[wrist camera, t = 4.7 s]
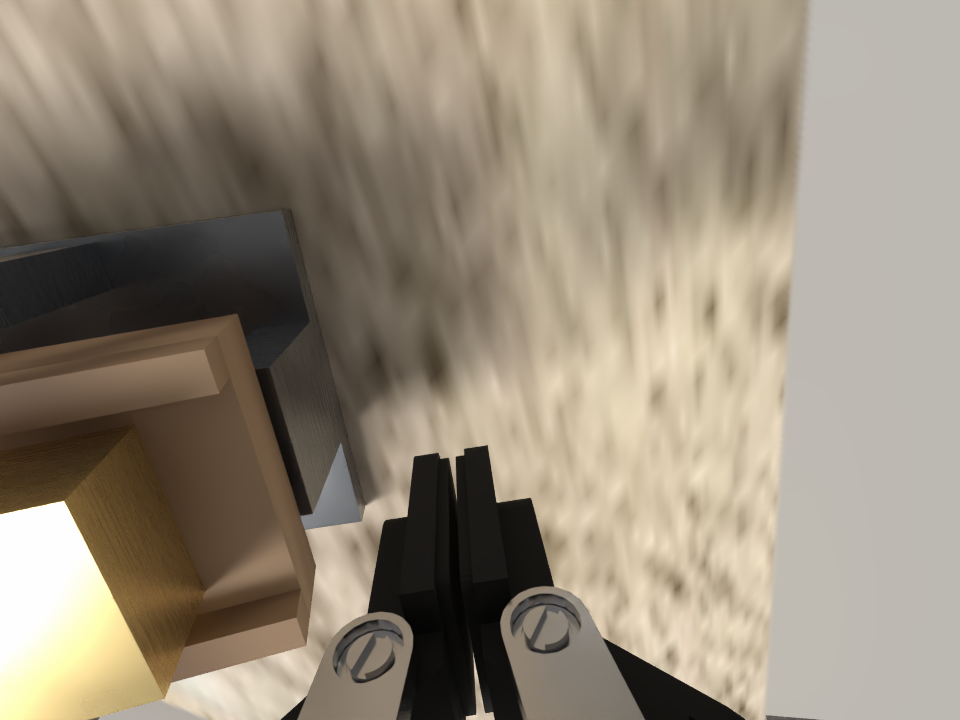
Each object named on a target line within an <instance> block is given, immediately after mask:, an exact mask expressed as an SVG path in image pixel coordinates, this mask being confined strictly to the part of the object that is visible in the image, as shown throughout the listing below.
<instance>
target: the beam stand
mask: <svg viewBox="0 0 960 720" xmlns="http://www.w3.org/2000/svg"><path fill="white" fill-rule="evenodd" d="M233 314H238V317H239V320H240V324H241V327H242V330H243V333H244V336H245V340H246V343H247V346H248V349H249V353H250V356H251V359H252V362H253V365H254V369H255V372H256V375H257V378H258V381H259V385H260V388H261V391H262V394H263V398H264V401H265V404H266V407H267V410H268V414H269V417H270V420H271V423H272V426H273V430H274V433H275V436H276V439H277V443H278V446H279V449H280V452H281V455H282V459H283V462H284V465H285V468H286V472H287V475H288V478H289V481H290V484H291V488H292V491H293V494H294V497H295V500H296V504H297V507H298V510H299V513H300V517H301V520H302V523H303V526H304V529H312V528H319V527H326V526H333V525H340V524H347V523H354V522H361V521H362V518H363V513H364V509H365V504H364V500H363V496H362V492H361V488H360V484H359V480H358V476H357V472H356V469H355V465H354V461H353V457H352V453H351V449H350V445H349V441H348V437H347V433H346V429H345V425H344V421H343V417H342V413H341V409H340V405H339V401H338V397H337V393H336V389H335V385H334V381H333V377H332V373H331V369H330V365H329V361H328V358H327V354H326V350H325V346H324V342H323V338H322V334H321V330H320V326H319V322H318V318H317V314H316V310H315V306H314V302H313V298H312V294H311V290H310V286H309V282H308V278H307V274H306V270H305V266H304V262H303V258H302V254H301V250H300V247H299V243H298V239H297V235H296V231H295V227H294V223H293V219H292V215H291V211H290V208H289V209H282V210H274V211H267V212H260V213H252V214H245V215H238V216H230V217H223V218H216V219H208V220H201V221H194V222H186V223H179V224H172V225H164V226H157V227H149V228H142V229H135V230H127V231H120V232H113V233H105V234H98V235H91V236H83V237H76V238H69V239H61V240H54V241H47V242H39V243H32V244H25V245H17V246H10V247H3V248H0V354H4V353H10V352H16V351H22V350H28V349H33V348H39V347H45V346H51V345H57V344H63V343H69V342H74V341H80V340H86V339H92V338H98V337H104V336H110V335H116V334H121V333H127V332H133V331H139V330H145V329H151V328H157V327H163V326H168V325H174V324H180V323H186V322H192V321H198V320H204V319H210V318H215V317H221V316H227V315H233ZM98 719H99V717H97V718H93V719H89V720H98Z"/></svg>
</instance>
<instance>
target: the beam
mask: <svg viewBox="0 0 960 720" xmlns="http://www.w3.org/2000/svg"><path fill="white" fill-rule="evenodd" d="M134 424H136V427H137V429H138V432H139V434H140V436H141V439H142V441H143V443H144V446H145V448H146V451H147V453H148V455H149V458H150V460H151V462H152V465H153V467H154V470H155V472H156V474H157V477H158V479H159V481H160V484H161V486H162V489H163V491H164V493H165V496H166V498H167V500H168V503H169V505H170V508H171V510H172V512H173V515H174V517H175V519H176V522H177V524H178V527H179V529H180V531H181V534H182V536H183V538H184V541H185V543H186V546H187V548H188V550H189V553H190V555H191V557H192V560H193V562H194V565H195V567H196V569H197V572H198V574H199V576H200V579H201V581H202V584H203V586H204V588H205V591H206V592H205V594H204V597H203V599H202V602H201V605H200V607H199V610H198V612H197V615H196V618H195V620H194V623H193V626H192V628H191V631H190V633H189V636H188V639H187V641H186V644H185V647H184V649H183V652H182V654H181V657H180V660H179V662H178V665H177V668H176V670H175V673H174V675H173V678H172V681H171V683H172V682H175V681H179V680H183V679H186V678H190V677H194V676H197V675H201V674H205V673H208V672H212V671H215V670H219V669H223V668H226V667H230V666H234V665H237V664H241V663H245V662H248V661H252V660H256V659H259V658H263V657H266V656H270V655H274V654H277V653H281V652H285V651H288V650H292V649H296V648H299V647H303V646H306V643H307V634H308V626H309V618H310V610H311V601H312V593H313V585H314V577H315V569H316V565H315V562H314V558H313V555H312V552H311V549H310V546H309V542H308V539H307V536H306V533H305V529H304V526H303V523H302V520H301V517H300V513H299V510H298V507H297V504H296V500H295V497H294V494H293V491H292V488H291V484H290V481H289V478H288V475H287V472H286V468H285V465H284V462H283V459H282V455H281V452H280V449H279V446H278V443H277V439H276V436H275V433H274V430H273V426H272V423H271V420H270V417H269V414H268V410H267V407H266V404H265V401H264V398H263V394H262V391H261V388H260V385H259V381H258V378H257V375H256V372H255V369H254V365H253V362H252V359H251V356H250V353H249V349H248V346H247V343H246V340H245V336H244V333H243V330H242V327H241V324H240V320H239V317H238V314H233V315H227V316H221V317H215V318H210V319H204V320H198V321H192V322H186V323H180V324H174V325H168V326H163V327H157V328H151V329H145V330H139V331H133V332H127V333H121V334H116V335H110V336H104V337H98V338H92V339H86V340H80V341H74V342H69V343H63V344H57V345H51V346H45V347H39V348H33V349H28V350H22V351H16V352H10V353H4V354H0V451H2V450H7V449H12V448H18V447H23V446H28V445H33V444H38V443H43V442H48V441H53V440H58V439H63V438H68V437H73V436H78V435H83V434H89V433H94V432H99V431H104V430H109V429H114V428H119V427H124V426H129V425H134Z"/></svg>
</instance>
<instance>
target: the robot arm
mask: <svg viewBox="0 0 960 720" xmlns="http://www.w3.org/2000/svg"><path fill="white" fill-rule="evenodd" d="M456 481H457V499H456V494H455V488H454V483H453V477H452V472H451V467H450V461H449V458H444V459H440V456H439V453H434V454H428V455H421V456H415V457H414V462H413V471H412V480H411V489H410V498H409V507H408V516H407V517H403V518H397V519H390V520H386V521H385V522H384V524H383V528H382V534H381V540H380V545H379V551H378V557H377V562H376V568H375V574H374V579H373V585H372V591H371V596H370V602H369V608H368V613H367V614H366V615H364V616H361V617H359V618H356V619H354V620H353V621H351V622H350V623H348V624H347V625H345V626H344V627H343V628H342V629H341V630H340V631H339V632H338V633H337V634H336V635H335V636H334V637H333V638H332V640H331V642H330V643H329V645H328V647H327V649H326V650H325V653H324V655H323V658H322V660H321V663H320V665H319V668H318V670H317V673H316V675H315V677H314V680H313V682H312V685H311V687H310V690H309V692H308V695H307V696H306V697H305V698H304V699H303V700H302V701H301V702H300V703H299V704H297V705H296V706H295V707H294V708H293V709H292V710H291V711H290V712H289V713H287V714H286V715H285V716H284V717H283V718H282V719H281V720H466V716H471V715H476V696H475V678H474V661H473V653H474V658H475V664H476V669H477V674H478V679H479V684H480V689H481V694H482V699H483V705H484V710H485V713H490V712H493V713H494V718H495V720H745V719H744V718H743V717H741V716H740V715H738V714H737V713H736V712H734V711H733V710H731V709H730V708H729V707H727V706H725V705H723V704H721V703H720V702H718V701H716V700H714V699H712V698H711V697H709V696H707V695H705V694H703V693H702V692H700V691H698V690H696V689H694V688H693V687H691V686H689V685H687V684H685V683H684V682H682V681H680V680H678V679H676V678H674V677H673V676H671V675H669V674H667V673H665V672H664V671H662V670H660V669H658V668H656V667H655V666H653V665H651V664H649V663H647V662H646V661H644V660H642V659H640V658H638V657H637V656H635V655H633V654H631V653H629V652H628V651H626V650H624V649H622V648H620V647H619V646H617V645H615V644H613V643H611V642H610V641H608V640H606V639H604V638H602V636H601V634H600V632H599V631H598V629H597V627H596V625H595V623H594V621H593V619H592V617H591V615H590V613H589V611H588V609H587V608H586V607H585V605H584V604H583V603H582V601H581V600H580V599H579V598H577V597H576V596H575V595H573V594H572V593H570V592H568V591H566V590H563V589H560V588H557V587H554V584H553V580H552V576H551V572H550V568H549V565H548V561H547V557H546V553H545V549H544V545H543V542H542V538H541V534H540V530H539V526H538V523H537V519H536V515H535V511H534V507H533V504H532V500H531V498H526V499H519V500H513V501H506V502H500V503H496V497H495V490H494V484H493V477H492V471H491V464H490V458H489V451H488V445H486V446H480V447H473V448H467V449H464V455H463V456H457V457H456ZM765 720H816V719H803V718H791V717H780V716H779V717H778V716H767V715H766V719H765Z"/></svg>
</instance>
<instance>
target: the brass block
mask: <svg viewBox="0 0 960 720" xmlns="http://www.w3.org/2000/svg"><path fill="white" fill-rule="evenodd" d="M205 592H206V591H205V588H204V586H203V584H202V581H201V579H200V576H199V574H198V572H197V569H196V567H195V565H194V562H193V560H192V557H191V555H190V553H189V550H188V548H187V546H186V543H185V541H184V538H183V536H182V534H181V531H180V529H179V527H178V524H177V522H176V519H175V517H174V515H173V512H172V510H171V508H170V505H169V503H168V500H167V498H166V496H165V493H164V491H163V489H162V486H161V484H160V481H159V479H158V477H157V474H156V472H155V470H154V467H153V465H152V462H151V460H150V458H149V455H148V453H147V451H146V448H145V446H144V443H143V441H142V439H141V436H140V434H139V432H138V429H137V427H136V424H134V425H129V426H124V427H119V428H114V429H109V430H104V431H99V432H94V433H89V434H83V435H78V436H73V437H68V438H63V439H58V440H53V441H48V442H43V443H38V444H33V445H28V446H23V447H18V448H12V449H7V450H2V451H0V720H89V719H93V718H97V717H100V716H103V715H107V714H111V713H115V712H118V711H122V710H125V709H129V708H132V707H136V706H139V705H143V704H147V703H150V702H154V701H158V700H161V699H165V696H166V694H167V691H168V689H169V686H170V683H171V681H172V678H173V675H174V673H175V670H176V668H177V665H178V662H179V660H180V657H181V654H182V652H183V649H184V647H185V644H186V641H187V639H188V636H189V633H190V631H191V628H192V626H193V623H194V620H195V618H196V615H197V612H198V610H199V607H200V605H201V602H202V599H203V597H204V594H205Z"/></svg>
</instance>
